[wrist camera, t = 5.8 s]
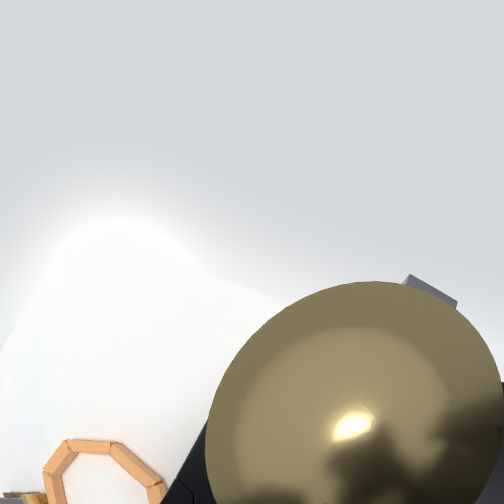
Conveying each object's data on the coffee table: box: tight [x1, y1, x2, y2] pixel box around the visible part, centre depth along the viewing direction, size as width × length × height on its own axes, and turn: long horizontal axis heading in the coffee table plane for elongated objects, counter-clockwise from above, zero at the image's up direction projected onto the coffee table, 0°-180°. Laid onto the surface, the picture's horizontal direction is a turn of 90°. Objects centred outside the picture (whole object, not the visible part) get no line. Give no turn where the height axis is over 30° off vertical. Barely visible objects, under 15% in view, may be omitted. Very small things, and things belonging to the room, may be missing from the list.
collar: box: [42, 439, 167, 504], centre depth 14 cm, size 11×11×2 cm
